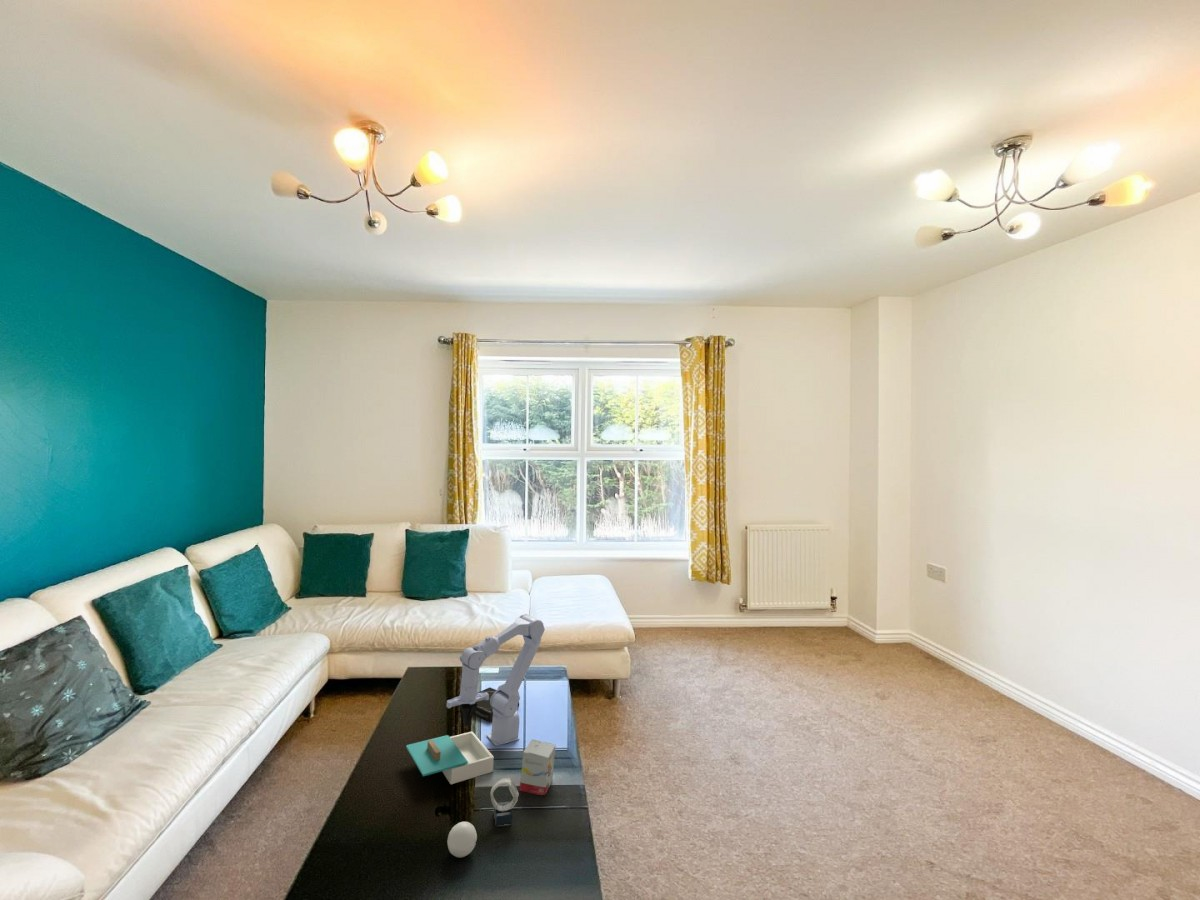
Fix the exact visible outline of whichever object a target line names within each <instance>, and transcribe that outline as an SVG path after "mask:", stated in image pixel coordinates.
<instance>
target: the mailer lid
mask: <svg viewBox="0 0 1200 900" xmlns="http://www.w3.org/2000/svg"><path fill="white" fill-rule="evenodd" d="M450 737H451V736H450V735H449V734H446V735H443V736H438V737H435V738H430V739H426V740H422V741H418V742H417V741H416V742H414V743H410V744H407V745H406V746H405V748H406V749H407V751H408V753H409V755H410V756H411V758H412V760H413V761H414V763H415V766H417V768H418V771H419V772H420V774H421V776H422V777H425V776H430V775H433V774H436V773H441V772H442V771H444V770H447V769H451V768H454V767H458V766H461V765H465V764H468V761H467V760H466V758H465V757H464V756H463V754H462V753H461V752H460V750H459V749H458V748H457V746H456V745H455V744H454V742H453V741H452V740H451V738H450Z"/></svg>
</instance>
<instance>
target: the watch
mask: <svg viewBox="0 0 1200 900" xmlns="http://www.w3.org/2000/svg"><path fill="white" fill-rule="evenodd" d="M502 785H507V787H508V790H509V792H510V794H511V796H512V800H511V801H503V802H497V801H496V799H495V796H494V793H495V791H496V789H497V788H499V787H500V786H502ZM489 795H490V801H491V803H492V804H491V805H492V806H493V814H494V816H493V820H494V819H495V822H494V826H495V825H496V826H498V825H504V824H511V825H512V823H513V822H512V819H513V812H512V809H513V808H514V806H516V805H517V804H516V803H517V802H518V800H519V799H518V797H519V796H520V794H519V791H518V788H517V786H516V783H515V781H514V780H513V778H509V777H503V778H499V779H498V780H497V781H495V782H494V783H493V785H492V787H491V789H490V793H489ZM493 814H492V815H493Z"/></svg>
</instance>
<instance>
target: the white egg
mask: <svg viewBox="0 0 1200 900" xmlns="http://www.w3.org/2000/svg"><path fill="white" fill-rule="evenodd" d="M477 834H478V833H477V831H476V828H475V826H474V825H473V824H472V823H470V822H469V821H461V822H460V821H459V822H458V823H457V824H455V825H454V826H453V827H451V830H450V831H449V832H448V836H447V841H446V843H447V848H448V851H449V853H450V854H451V855H452V856H454V857H456V858H464V857H466V856H468V855H469V854H471V853H472V851H473V850H474V848H475V847H476V843H477V840H478V835H477Z"/></svg>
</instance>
